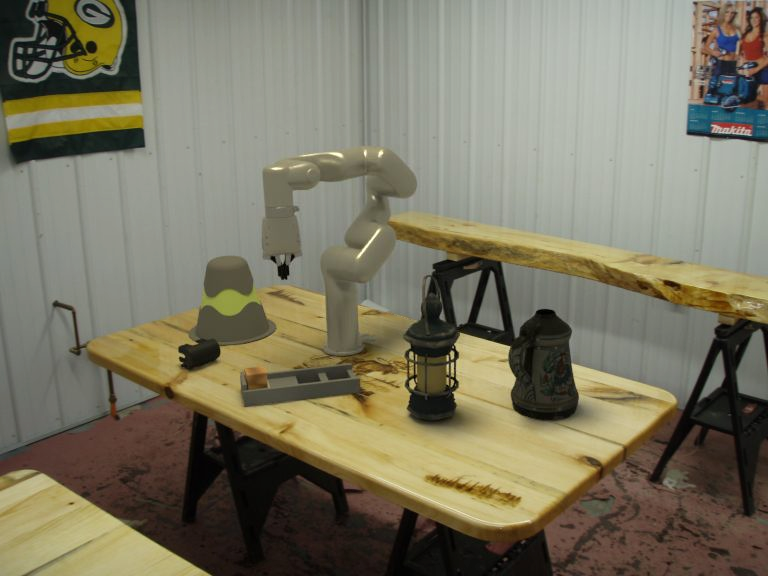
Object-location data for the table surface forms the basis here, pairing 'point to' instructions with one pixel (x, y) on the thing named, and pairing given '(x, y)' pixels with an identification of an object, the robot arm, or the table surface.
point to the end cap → (199, 353)
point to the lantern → (431, 361)
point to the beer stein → (543, 368)
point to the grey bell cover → (230, 305)
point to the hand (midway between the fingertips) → (283, 278)
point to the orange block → (256, 377)
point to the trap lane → (302, 384)
